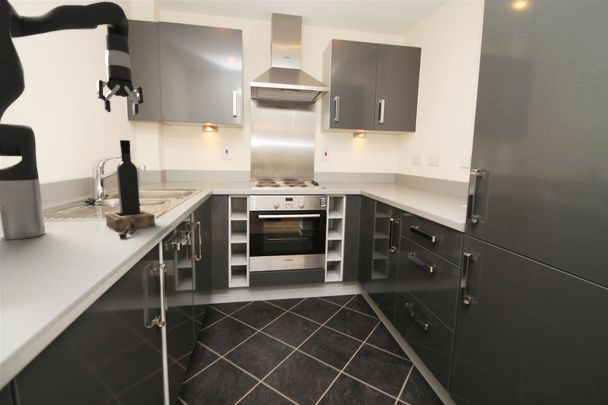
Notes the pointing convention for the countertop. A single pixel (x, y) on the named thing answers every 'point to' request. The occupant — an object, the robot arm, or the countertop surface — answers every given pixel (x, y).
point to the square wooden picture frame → (121, 222)
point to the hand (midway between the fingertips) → (122, 113)
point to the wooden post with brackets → (131, 224)
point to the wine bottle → (127, 182)
